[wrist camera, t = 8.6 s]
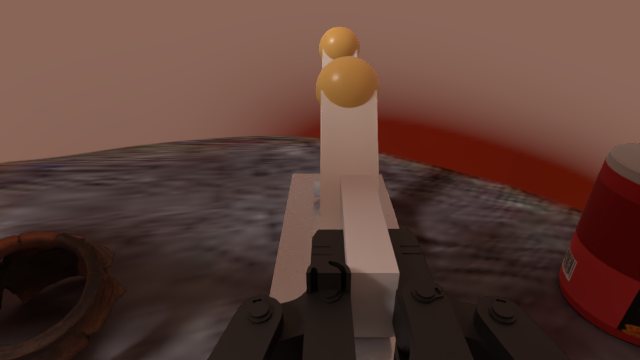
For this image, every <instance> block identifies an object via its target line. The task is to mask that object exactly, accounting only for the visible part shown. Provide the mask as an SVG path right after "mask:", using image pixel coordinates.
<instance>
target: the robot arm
mask: <svg viewBox="0 0 640 360" xmlns="http://www.w3.org/2000/svg"><path fill="white" fill-rule="evenodd" d="M306 286H307V290H306V291H305V292H304V293H303V294H302V295H301V296H300V297H298V298H296V299H294V300H291V301H288V302H285V303H280V302H278V301H277V300H276V299H275V298H272V297H270V296H257V297H253V298H250V299H249V300H247V301H245V302H244V303H243V304H242V305H241V306H240V307H239V308H238V310H237V312H236V313H235V315H234V316H233V318H232V320H231V321H230V323H229V325H228V326H227V328H226V330H225V331H224V333H223V335H222V336H221V338H220V340H219V341H218V343H217V345H216V346H215V348H214V350H213V351H212V353H211V354H210V356H209V358H208V359H207V360H356V352H355V340H354V337H392V332H393V329H394V334H395V338H396V342H395V350H394V358H393V360H571V359H570V358H569V357H568V356H567V355H566V354H565V353H564V352H563V351H562V350H561V349H560V348H559V347H558V346H557V345H556V344H555V343H554V342H553V341H552V339H551V338H550V337H549V336H548V335H547V334H546V333H545V332H544V331H543V330H542V329H541V328H540V327H539V326H538V325H537V324H536V323H535V322H534V321H533V320H532V319H531V318H530V317H529V316H528V314H527V313H526V312H525V311H524V310H523V309H522V308H520V307H519V306H518V305H517V304H515V303H514V302H512V301H510V300H508V299H506V298H502V297H498V296H486V297H483V298H481V299H480V300H479V301H478V303H477V305H473V304H469V303H465V302H461V301H458V300H455V299H452V298H450V297H448V296H447V294H446V293H445V291H444V290H443V288H442V287H440V286H439V285H438V284H436V283H434V281H433V278H432V276H431V273H430V271H429V268H428V266H427V263H426V260H425V258H424V255H423V253H422V250H421V248H420V245H419V243H418V240H417V238H416V236H415V235H414V234H413V233H412V232H411V231H410V230H409V229H387V225H386V222H385V218H384V215H383V211H382V207H381V204H380V200H379V196H378V193H377V189H376V185H375V182H374V178H373V175H340V229H318V230H317V232H316V233H315V234H314V236H313V237H312V248H311V263H310V266H309V267H308V269H307V271H306Z"/></svg>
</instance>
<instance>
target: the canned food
mask: <svg viewBox="0 0 640 360" xmlns="http://www.w3.org/2000/svg"><path fill="white" fill-rule="evenodd" d="M559 285H560V289H561V292H562V294H563V296H564V297H565V299H566V300H567V302H568V303H569V304H570V305H571V306H572V307H573V308H574V309H575V310H576V311H577V312H578V313H579V314H580V315H582V316H583V317H584V318H585V319H586V320H588V321H589V322H591V323H592V324H594V325H595V326H596V327H598V328H600V329H602V330H603V331H605V332H607V333H609V334H611V335H613V336H615V337H617V338H619V339H621V340H624V341H627V342H630V343H633V344H635V345H639V346H640V143H630V144H622V145H618V146H614V147H613V148H612V149H611V150H610V152H609V154H608V156H607V157H606V159H605V161H604V164H603V166H602V168H601V170H600V172H599V174H598V177H597V179H596V182H595V185H594V187H593V189H592V192H591V194H590V197H589V199H588V201H587V204H586V206H585V209H584V211H583V214H582V216H581V218H580V221H579V223H578V226H577V228H576V231H575V233H574V236H573V238H572V240H571V243H570V245H569V248H568V250H567V253H566V255H565V257H564V260H563V262H562V265H561V267H560V271H559Z"/></svg>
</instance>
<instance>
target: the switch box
mask: <svg viewBox="0 0 640 360" xmlns="http://www.w3.org/2000/svg"><path fill="white" fill-rule="evenodd" d="M314 181H320V174H293V175H292V180H291V186H290V191H289V196H288V201H287V207H286V212H285V217H284V222H283V228H282V233H281V238H280V243H279V249H278V254H277V259H276V264H275V270H274V275H273V280H272V285H271V291H270V297H272V298H275V299H276V300H277V301H278V302H280V303H285V302H288V301H291V300H294V299H296V298H298V297H300V296H301V295H302V294H303V293H304V292H305V291H306V290H307V286H306V271H307V269H308V267H309V266H310V263H311V248H312V237H313V236H314V234H315V233H316V232H317V230H318V229H320V197H314ZM379 200H380V204H381V207H382V211H383V215H384V218H385V222H386V225H387V229H399V226H398V223H397V219H396V216H395V213H394V210H393V207H392V204H391V201H390V198H389V195H388V192H387V190H386V187H385V184H384V181H383V178H382V175H381V174H379ZM354 340H355V352H356V360H393V358H394V350H395V342H396V338H395V337H354Z"/></svg>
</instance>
